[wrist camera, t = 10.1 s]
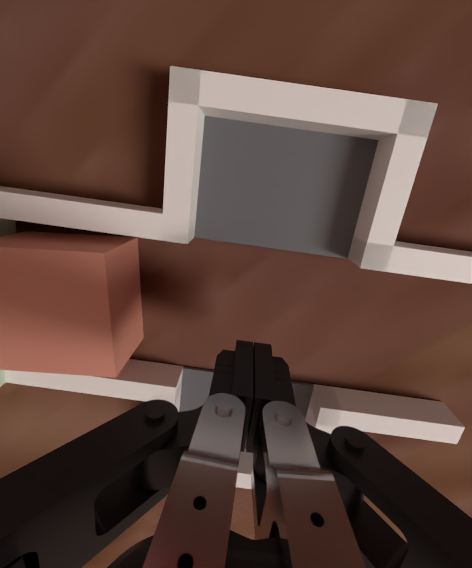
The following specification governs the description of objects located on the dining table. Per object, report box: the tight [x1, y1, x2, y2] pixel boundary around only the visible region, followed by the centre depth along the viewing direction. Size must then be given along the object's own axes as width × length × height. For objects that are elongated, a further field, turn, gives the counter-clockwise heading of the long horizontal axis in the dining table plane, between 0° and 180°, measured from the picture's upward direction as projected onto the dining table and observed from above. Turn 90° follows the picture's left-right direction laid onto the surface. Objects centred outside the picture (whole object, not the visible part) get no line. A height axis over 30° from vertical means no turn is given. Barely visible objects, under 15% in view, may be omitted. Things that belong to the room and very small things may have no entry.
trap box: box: [0, 66, 472, 489], centre depth 14 cm, size 27×22×5 cm
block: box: [0, 231, 144, 378], centre depth 15 cm, size 6×6×4 cm
